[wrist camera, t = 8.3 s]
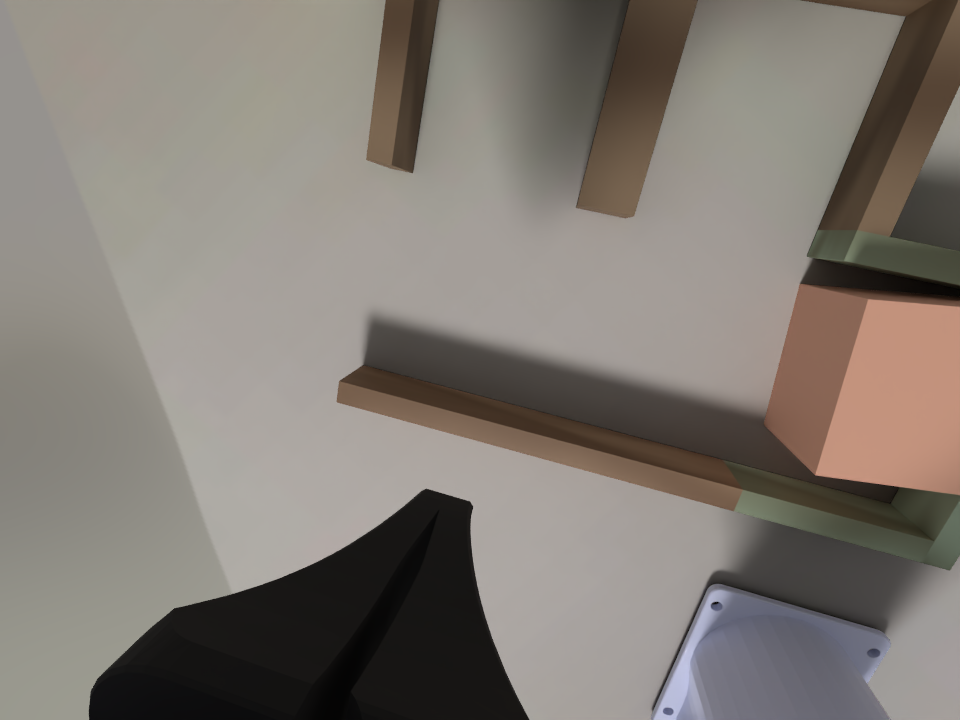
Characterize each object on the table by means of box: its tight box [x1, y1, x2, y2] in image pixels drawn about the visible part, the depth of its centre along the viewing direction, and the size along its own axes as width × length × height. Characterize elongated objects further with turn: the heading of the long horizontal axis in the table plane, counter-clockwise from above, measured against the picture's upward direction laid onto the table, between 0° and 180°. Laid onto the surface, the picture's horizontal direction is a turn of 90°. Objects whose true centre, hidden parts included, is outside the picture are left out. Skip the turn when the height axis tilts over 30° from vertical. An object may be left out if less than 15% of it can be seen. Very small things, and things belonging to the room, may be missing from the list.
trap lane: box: [337, 0, 960, 570], centre depth 17 cm, size 19×25×2 cm
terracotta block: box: [764, 284, 960, 495], centre depth 17 cm, size 6×6×4 cm
